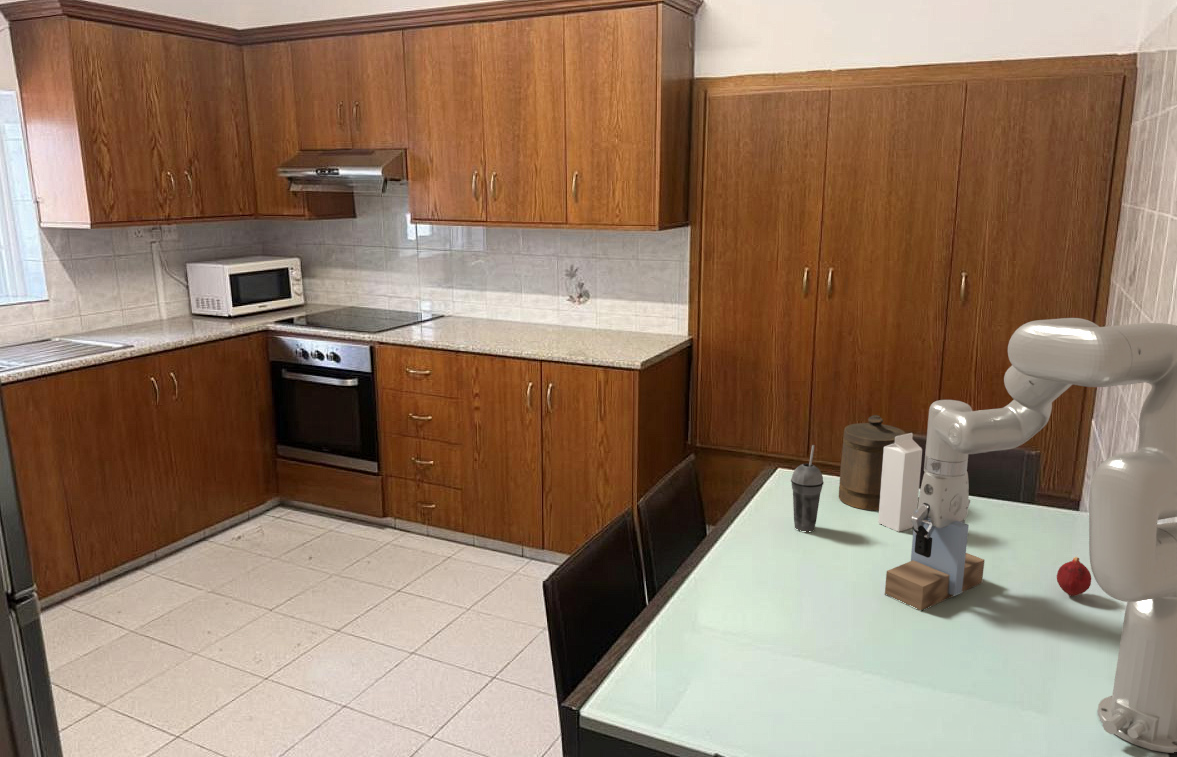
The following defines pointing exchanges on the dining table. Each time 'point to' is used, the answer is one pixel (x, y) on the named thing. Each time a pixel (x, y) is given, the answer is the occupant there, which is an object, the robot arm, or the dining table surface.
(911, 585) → the slotted base
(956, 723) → the dining table surface
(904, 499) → the milk
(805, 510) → the beverage cup
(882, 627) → the dining table surface
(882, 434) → the wooden container
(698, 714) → the dining table surface
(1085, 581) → the red pomegranate
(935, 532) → the grey block
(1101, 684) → the dining table surface
